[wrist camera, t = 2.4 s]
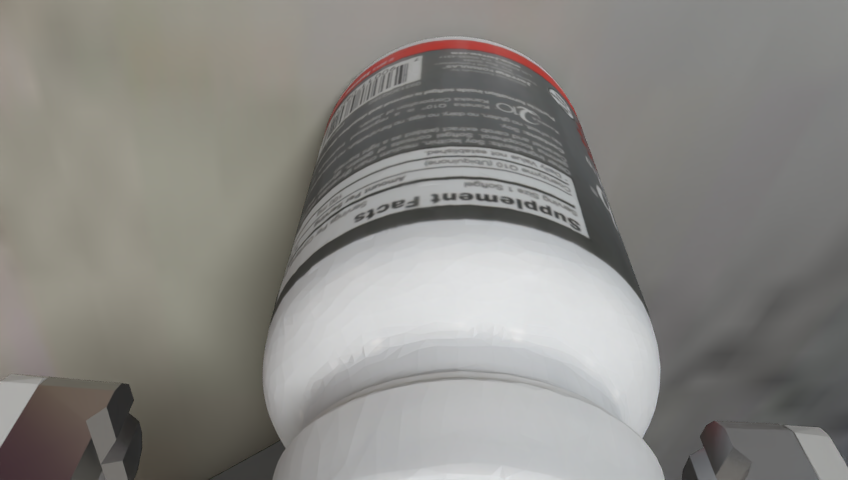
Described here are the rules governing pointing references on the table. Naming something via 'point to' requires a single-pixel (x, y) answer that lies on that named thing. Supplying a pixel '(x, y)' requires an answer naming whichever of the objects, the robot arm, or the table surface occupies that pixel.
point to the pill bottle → (459, 287)
